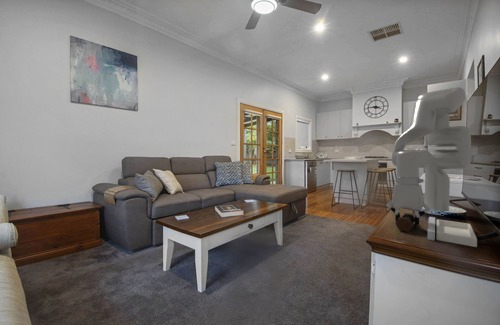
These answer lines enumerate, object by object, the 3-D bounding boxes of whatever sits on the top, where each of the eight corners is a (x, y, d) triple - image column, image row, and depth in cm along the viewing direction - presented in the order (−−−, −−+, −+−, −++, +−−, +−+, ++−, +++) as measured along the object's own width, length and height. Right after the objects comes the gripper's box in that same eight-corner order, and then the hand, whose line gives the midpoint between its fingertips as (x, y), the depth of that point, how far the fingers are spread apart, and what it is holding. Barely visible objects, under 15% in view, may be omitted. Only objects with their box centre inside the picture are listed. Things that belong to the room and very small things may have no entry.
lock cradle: (436, 225, 94) (436, 219, 94) (469, 230, 88) (470, 223, 87) (436, 239, 79) (436, 232, 79) (476, 247, 72) (477, 239, 72)
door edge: (428, 223, 96) (429, 216, 96) (434, 224, 95) (435, 217, 95) (427, 239, 80) (427, 230, 79) (434, 240, 78) (434, 232, 78)
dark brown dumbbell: (412, 225, 98) (405, 234, 87) (400, 218, 101) (392, 225, 90) (420, 215, 95) (415, 223, 85) (408, 207, 98) (401, 214, 87)
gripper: (434, 181, 89) (433, 226, 90) (384, 178, 100) (384, 219, 101) (434, 183, 83) (433, 232, 84) (381, 181, 94) (381, 223, 95)
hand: (407, 224), depth 93 cm, fingers closed on dark brown dumbbell, 5 cm apart
